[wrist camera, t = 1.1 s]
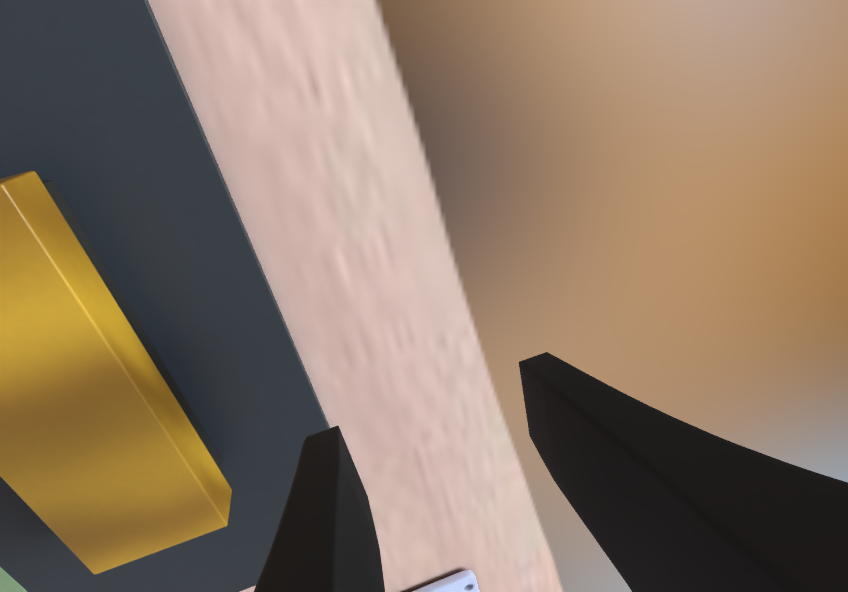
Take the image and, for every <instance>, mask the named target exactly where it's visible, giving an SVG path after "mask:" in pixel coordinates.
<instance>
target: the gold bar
mask: <svg viewBox="0 0 848 592" xmlns="http://www.w3.org/2000/svg"><path fill="white" fill-rule="evenodd" d="M222 466H223V460H222V459H221V457H220V455H219V454H218V452H217V450H216V449H215V447H214V446H213V444H212V442H211V441H210V439H209V437H208V436H207V434H206V432H205V431H204V429H203V427H202V426H201V424H200V422H199V421H198V419H197V417H196V416H195V414H194V412H193V411H192V409H191V407H190V406H189V404H188V402H187V401H186V399H185V398H184V396H183V394H182V393H181V391H180V389H179V388H178V386H177V384H176V383H175V381H174V379H173V378H172V376H171V374H170V373H169V371H168V369H167V368H166V366H165V364H164V363H163V361H162V359H161V358H160V356H159V355H158V353H157V351H156V350H155V348H154V346H153V345H152V343H151V341H150V340H149V338H148V336H147V335H146V333H145V331H144V330H143V328H142V326H141V325H140V323H139V321H138V320H137V318H136V316H135V315H134V313H133V311H132V310H131V308H130V307H129V305H128V303H127V302H126V300H125V298H124V297H123V295H122V293H121V292H120V290H119V288H118V287H117V285H116V283H115V282H114V280H113V278H112V277H111V275H110V273H109V272H108V270H107V268H106V267H105V265H104V263H103V262H102V260H101V259H100V257H99V255H98V254H97V252H96V250H95V249H94V247H93V245H92V244H91V242H90V240H89V239H88V237H87V235H86V234H85V232H84V230H83V229H82V227H81V225H80V224H79V222H78V220H77V219H76V217H75V216H74V214H73V212H72V211H71V209H70V207H69V206H68V204H67V202H66V201H65V199H64V197H63V196H62V194H61V192H60V191H59V189H58V187H57V186H56V184H55V182H54V181H53V180H47V181H43V182H42V181H41V180H40V178H39V176H38V175H37V173H36V172H35V171H28V172H24V173H20V174H16V175H12V176H8V177H5V178H1V179H0V476H1V478H2V479H3V480H4V481H5V482H6V483H7V484H8V485H9V486H10V487H11V488H12V489H13V490H14V491H15V492H16V493H17V494H18V495H19V496H20V497H21V499H22V500H23V501H24V502H25V503H26V504H27V505H28V506H29V507H30V508H31V509H32V510H33V511H34V512H35V513H36V514H37V515H38V516H39V517H40V518H41V520H42V521H43V522H44V523H45V524H46V525H47V526H48V527H49V528H50V529H51V530H52V531H53V532H54V533H55V534H56V535H57V536H58V537H59V538H60V539H61V541H62V542H63V543H64V544H65V545H66V546H67V547H68V548H69V549H70V550H71V551H72V552H73V553H74V554H75V555H76V556H77V557H78V558H79V559H80V560H81V562H82V563H83V564H84V565H85V566H86V567H87V568H88V569H89V570H90V571H91V572H92V573H93V574H98V573H101V572H104V571H107V570H109V569H112V568H115V567H117V566H120V565H123V564H126V563H128V562H131V561H134V560H136V559H139V558H142V557H145V556H147V555H150V554H153V553H155V552H158V551H161V550H164V549H166V548H169V547H172V546H174V545H177V544H180V543H183V542H185V541H188V540H191V539H193V538H196V537H199V536H202V535H204V534H207V533H210V532H212V531H215V530H218V529H220V528H223V527H226V526H227V525H228V517H229V510H230V502H231V494H232V489H231V488H230V486H229V484H228V483H227V481H226V479H225V478H224V476H223V475H222V473H221V472H222Z"/></svg>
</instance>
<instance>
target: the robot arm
mask: <svg viewBox="0 0 848 592" xmlns="http://www.w3.org/2000/svg"><path fill="white" fill-rule="evenodd" d="M519 367H520V374H521V379H522V386H523V394H524V401H525V407H526V414H527V421H528V427H529V434H530V437H531V439H532V441H533V443H534V445H535V447H536V448H537V450H538V452H539V454H540V456H541V458H542V460H543V461H544V463H545V465H546V467H547V468H548V470H549V472H550V474H551V476H552V477H553V479H554V481H555V482H556V484H557V485H558V487H559V488H560V490H561V491H562V492H563V494H564V495H565V497H566V498H567V499H568V501H569V502H570V504H571V505H572V507H573V508H574V509H575V511H576V512H577V514H578V515H579V517H580V518H581V519H582V521H583V522H584V524H585V525H586V526H587V528H588V529H589V531H590V532H591V533H592V535H593V536H594V538H595V539H596V541H597V542H598V543H599V545H600V546H601V548H602V549H603V550H604V552H605V553H606V555H607V556H608V557H609V559H610V560H611V562H612V563H613V564H614V566H615V567H616V569H617V570H618V572H619V573H620V574H621V576H622V577H623V579H624V580H625V581H626V583H627V584H628V586H629V587H630V589H631V590H632V592H848V483H847V482H844V481H841V480H837V479H834V478H831V477H828V476H825V475H821V474H818V473H815V472H812V471H809V470H806V469H803V468H801V467H798V466H795V465H792V464H789V463H786V462H783V461H781V460H778V459H775V458H772V457H770V456H767V455H764V454H762V453H759V452H756V451H754V450H751V449H748V448H745V447H742V446H740V445H737V444H735V443H732V442H730V441H727V440H725V439H722V438H720V437H718V436H715V435H713V434H710V433H708V432H706V431H703V430H701V429H699V428H697V427H694V426H692V425H690V424H687V423H685V422H683V421H681V420H678V419H676V418H674V417H671V416H669V415H667V414H665V413H663V412H661V411H659V410H657V409H655V408H652V407H650V406H648V405H646V404H644V403H642V402H640V401H638V400H636V399H634V398H632V397H630V396H628V395H626V394H624V393H622V392H620V391H618V390H616V389H615V388H613V387H611V386H608V385H607V384H605V383H603V382H601V381H599V380H597V379H596V378H594V377H592V376H590V375H588V374H586V373H585V372H583V371H580V370H579V369H577V368H575V367H573V366H571V365H570V364H568V363H566V362H564V361H562V360H561V359H559V358H557V357H555V356H553V355H551V354H549V353H547V352H546V353H543V354H540V355H537V356H534V357H532V358H529V359H526V360H523V361H520V362H519ZM254 592H385V588H384V580H383V572H382V564H381V556H380V549H379V544H378V540H377V535H376V531H375V526H374V522H373V518H372V513H371V509H370V505H369V500H368V496H367V494H366V491H365V489H364V487H363V484H362V482H361V479H360V477H359V475H358V472H357V470H356V467H355V465H354V462H353V460H352V458H351V455H350V453H349V450H348V448H347V446H346V443H345V441H344V438H343V436H342V433H341V431H340V429H339V426H336V427H333V428H330V429H327V430H324V431H321V432H318V433H316V434H313V435H310V436H307V437H306V439H305V441H304V442H303V445H302V450H301V454H300V458H299V461H298V465H297V469H296V472H295V476H294V479H293V483H292V486H291V489H290V493H289V496H288V499H287V502H286V506H285V508H284V511H283V514H282V517H281V520H280V523H279V526H278V529H277V532H276V535H275V538H274V541H273V544H272V546H271V549H270V552H269V555H268V557H267V560H266V562H265V565H264V567H263V570H262V572H261V575H260V577H259V580H258V582H257V585H256V588H255V590H254ZM412 592H479V588H478V585H477V581H476V578H475V575H474V572H473V571H471V570H464V571H461V572H459V573H456V574H454V575H451V576H449V577H446V578H444V579H441V580H439V581H436V582H434V583H431V584H429V585H427V586H424V587H422V588H419V589H417V590H414V591H412Z"/></svg>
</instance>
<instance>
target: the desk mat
mask: <svg viewBox="0 0 848 592" xmlns="http://www.w3.org/2000/svg"><path fill="white" fill-rule="evenodd" d="M28 171H35V172H36V173H37V175H38V176H39V178H40V180H41V181H42V182H43V181H47V180H53V181H54V182H55V184H56V186H57V187H58V189H59V191H60V192H61V194H62V196H63V197H64V199H65V201H66V202H67V204H68V206H69V207H70V209H71V211H72V212H73V214H74V216H75V217H76V219H77V220H78V222H79V224H80V225H81V227H82V229H83V230H84V232H85V234H86V235H87V237H88V239H89V240H90V242H91V244H92V245H93V247H94V249H95V250H96V252H97V254H98V255H99V257H100V259H101V260H102V262H103V263H104V265H105V267H106V268H107V270H108V272H109V273H110V275H111V277H112V278H113V280H114V282H115V283H116V285H117V287H118V288H119V290H120V292H121V293H122V295H123V297H124V298H125V300H126V302H127V303H128V305H129V307H130V308H131V310H132V311H133V313H134V315H135V316H136V318H137V320H138V321H139V323H140V325H141V326H142V328H143V330H144V331H145V333H146V335H147V336H148V338H149V340H150V341H151V343H152V345H153V346H154V348H155V350H156V351H157V353H158V355H159V356H160V358H161V359H162V361H163V363H164V364H165V366H166V368H167V369H168V371H169V373H170V374H171V376H172V378H173V379H174V381H175V383H176V384H177V386H178V388H179V389H180V391H181V393H182V394H183V396H184V398H185V399H186V401H187V402H188V404H189V406H190V407H191V409H192V411H193V412H194V414H195V416H196V417H197V419H198V421H199V422H200V424H201V426H202V427H203V429H204V431H205V432H206V434H207V436H208V437H209V439H210V441H211V442H212V444H213V446H214V447H215V449H216V450H217V452H218V454H219V455H220V457H221V459H222V460H223V466H222V472H221V473H222V475H223V476H224V478H225V479H226V481H227V483H228V484H229V486H230V488H231V489H232V494H231V502H230V510H229V517H228V525H227V526H226V527H223V528H220V529H218V530H215V531H212V532H210V533H207V534H204V535H202V536H199V537H196V538H193V539H191V540H188V541H185V542H183V543H180V544H177V545H174V546H172V547H169V548H166V549H164V550H161V551H158V552H155V553H153V554H150V555H147V556H145V557H142V558H139V559H136V560H134V561H131V562H128V563H126V564H123V565H120V566H117V567H115V568H112V569H109V570H107V571H104V572H101V573H98V574H93V573H92V572H91V571H90V570H89V569H88V568H87V567H86V566H85V565H84V564H83V563H82V562H81V560H80V559H79V558H78V557H77V556H76V555H75V554H74V553H73V552H72V551H71V550H70V549H69V548H68V547H67V546H66V545H65V544H64V543H63V542H62V541H61V539H60V538H59V537H58V536H57V535H56V534H55V533H54V532H53V531H52V530H51V529H50V528H49V527H48V526H47V525H46V524H45V523H44V522H43V521H42V520H41V518H40V517H39V516H38V515H37V514H36V513H35V512H34V511H33V510H32V509H31V508H30V507H29V506H28V505H27V504H26V503H25V502H24V501H23V500H22V499H21V497H20V496H19V495H18V494H17V493H16V492H15V491H14V490H13V489H12V488H11V487H10V486H9V485H8V484H7V483H6V482H5V481H4V480H3V479H2V478H1V476H0V592H239V591H242V590H245V589H247V588H250V587H252V586H255V585H257V582H258V580H259V577H260V575H261V572H262V570H263V567H264V565H265V562H266V560H267V557H268V555H269V552H270V549H271V546H272V544H273V541H274V538H275V535H276V532H277V529H278V526H279V523H280V520H281V517H282V514H283V511H284V508H285V506H286V502H287V499H288V496H289V493H290V489H291V486H292V483H293V479H294V476H295V472H296V469H297V465H298V461H299V458H300V454H301V450H302V445H303V442H304V441H305V439H306V437H307V436H310V435H313V434H316V433H318V432H321V431H324V430H327V429H330V427H329V425H328V422H327V420H326V418H325V415H324V413H323V411H322V408H321V406H320V403H319V401H318V399H317V396H316V394H315V392H314V389H313V387H312V385H311V382H310V380H309V378H308V375H307V373H306V371H305V368H304V366H303V364H302V361H301V359H300V357H299V354H298V352H297V350H296V347H295V345H294V342H293V340H292V338H291V335H290V333H289V331H288V328H287V326H286V324H285V321H284V319H283V317H282V314H281V312H280V310H279V307H278V305H277V303H276V300H275V298H274V296H273V293H272V291H271V289H270V286H269V284H268V281H267V279H266V277H265V274H264V272H263V270H262V267H261V265H260V263H259V260H258V258H257V256H256V253H255V251H254V249H253V246H252V244H251V242H250V239H249V237H248V235H247V232H246V230H245V228H244V225H243V223H242V221H241V218H240V216H239V213H238V211H237V209H236V206H235V204H234V202H233V199H232V197H231V195H230V192H229V190H228V188H227V185H226V183H225V181H224V178H223V176H222V174H221V171H220V169H219V167H218V164H217V162H216V160H215V157H214V155H213V152H212V150H211V148H210V145H209V143H208V141H207V138H206V136H205V134H204V131H203V129H202V127H201V124H200V122H199V120H198V117H197V115H196V113H195V110H194V108H193V106H192V103H191V101H190V99H189V96H188V94H187V92H186V89H185V87H184V84H183V82H182V80H181V77H180V75H179V73H178V70H177V68H176V66H175V63H174V61H173V59H172V56H171V54H170V52H169V49H168V47H167V45H166V42H165V40H164V38H163V35H162V33H161V31H160V28H159V26H158V23H157V21H156V19H155V16H154V14H153V12H152V9H151V7H150V5H149V2H148V0H0V179H1V178H5V177H8V176H12V175H16V174H20V173H24V172H28Z"/></svg>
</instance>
